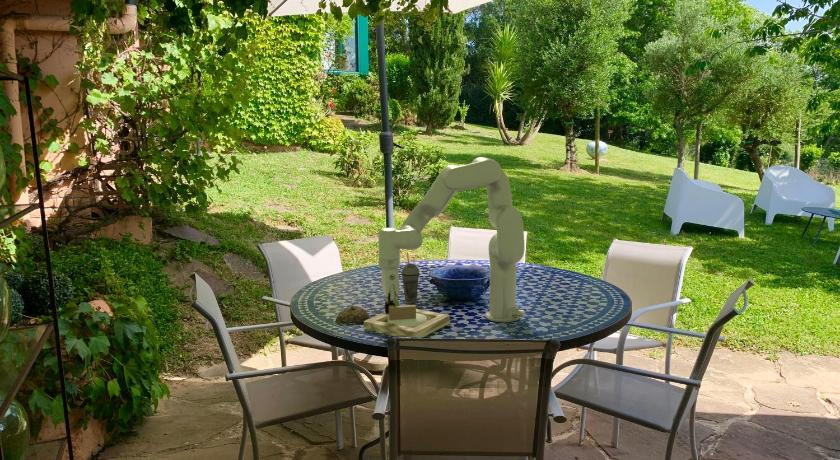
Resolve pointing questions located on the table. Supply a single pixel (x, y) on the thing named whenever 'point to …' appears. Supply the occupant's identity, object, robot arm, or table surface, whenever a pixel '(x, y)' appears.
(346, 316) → the bread roll
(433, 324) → the tray
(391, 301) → the robot arm
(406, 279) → the beverage cup
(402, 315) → the dial
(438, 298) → the table surface
